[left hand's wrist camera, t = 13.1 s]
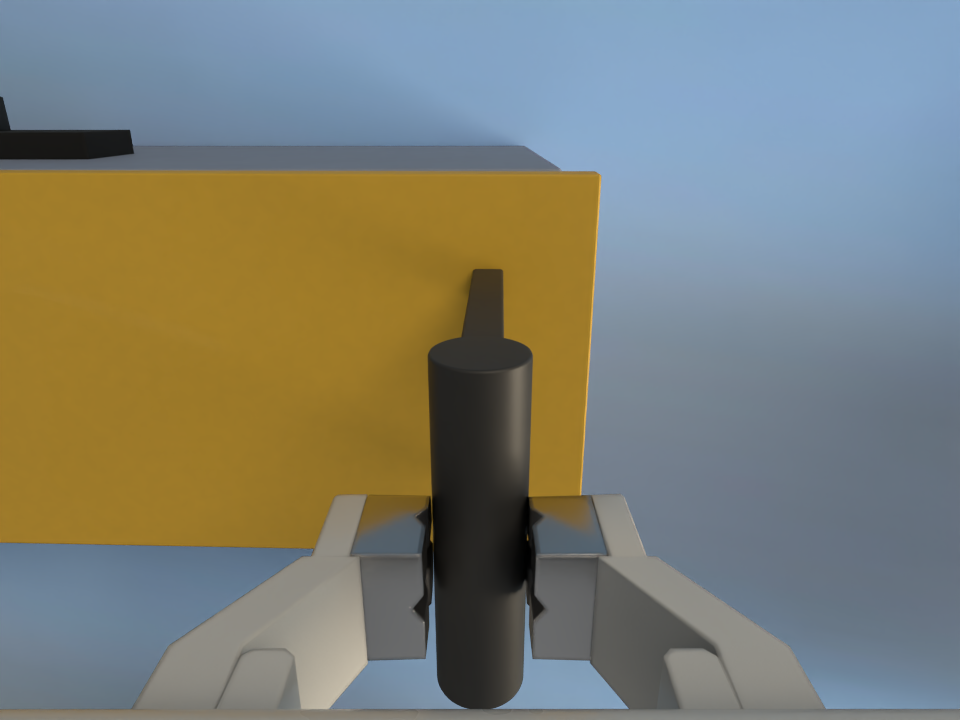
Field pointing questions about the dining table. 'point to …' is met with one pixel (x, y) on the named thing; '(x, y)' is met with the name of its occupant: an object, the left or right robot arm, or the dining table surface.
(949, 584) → the dining table surface
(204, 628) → the left robot arm
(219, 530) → the lid
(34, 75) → the dining table surface
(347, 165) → the chest
